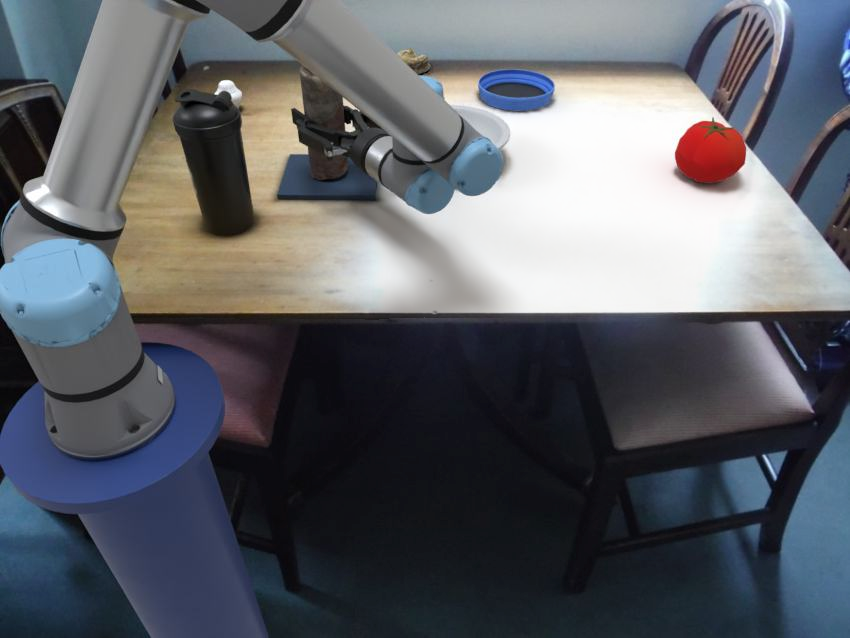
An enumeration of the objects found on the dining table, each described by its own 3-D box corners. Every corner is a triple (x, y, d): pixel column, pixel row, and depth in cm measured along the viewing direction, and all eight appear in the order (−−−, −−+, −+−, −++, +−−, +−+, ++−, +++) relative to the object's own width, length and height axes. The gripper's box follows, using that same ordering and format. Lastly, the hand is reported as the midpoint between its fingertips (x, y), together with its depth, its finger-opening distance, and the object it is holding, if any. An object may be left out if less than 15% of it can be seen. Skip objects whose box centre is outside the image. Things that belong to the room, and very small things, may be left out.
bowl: (530, 79, 167) (531, 64, 165) (566, 106, 155) (569, 91, 152) (465, 88, 162) (466, 74, 160) (497, 117, 150) (499, 102, 147)
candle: (320, 161, 131) (310, 58, 118) (355, 166, 129) (348, 63, 116) (304, 179, 125) (290, 74, 112) (339, 185, 124) (330, 79, 111)
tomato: (662, 159, 135) (675, 110, 128) (722, 160, 135) (739, 110, 128) (681, 193, 125) (696, 141, 118) (746, 193, 125) (765, 141, 118)
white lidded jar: (216, 106, 152) (210, 76, 148) (243, 103, 154) (238, 73, 149) (218, 117, 148) (211, 86, 143) (245, 114, 149) (240, 84, 145)
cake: (412, 81, 167) (410, 59, 163) (384, 71, 172) (382, 50, 168) (438, 67, 172) (437, 46, 168) (411, 58, 177) (409, 38, 173)
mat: (277, 199, 122) (276, 194, 121) (290, 158, 134) (289, 154, 133) (375, 200, 122) (375, 195, 121) (379, 159, 134) (379, 154, 133)
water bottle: (209, 206, 119) (179, 80, 104) (265, 208, 119) (243, 82, 104) (192, 238, 112) (157, 107, 97) (252, 240, 112) (226, 109, 96)
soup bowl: (527, 152, 137) (531, 121, 133) (470, 202, 122) (473, 170, 117) (429, 124, 147) (430, 95, 142) (365, 167, 131) (363, 136, 127)
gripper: (331, 195, 107) (266, 143, 121) (429, 160, 116) (358, 116, 130) (327, 152, 102) (260, 103, 116) (430, 120, 111) (356, 78, 125)
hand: (312, 110), depth 123 cm, fingers closed on candle, 7 cm apart
